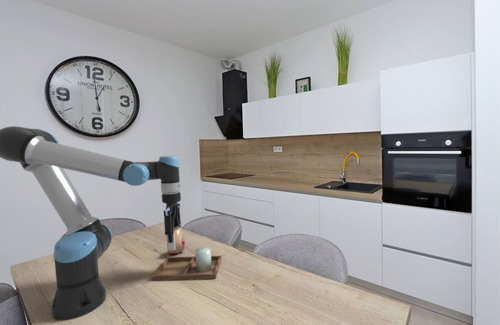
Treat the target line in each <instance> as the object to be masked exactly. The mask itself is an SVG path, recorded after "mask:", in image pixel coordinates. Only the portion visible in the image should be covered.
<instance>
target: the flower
mask: <svg viewBox="0 0 500 325" xmlns="http://www.w3.org/2000/svg"><path fill="white" fill-rule="evenodd" d="M181 238H182V237H181ZM185 242H186V241H185V239H184V238H182V250H181V251H179V252H175V253H169V252H168V251H167V253H168V254H171V255H177V254H180V255H183V251H185V250H186V245H185V244H186V243H185ZM168 254H167V255H168Z"/></svg>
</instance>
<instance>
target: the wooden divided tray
mask: <svg viewBox="0 0 500 325" xmlns="http://www.w3.org/2000/svg"><path fill="white" fill-rule="evenodd" d="M221 262H222V255H211V266H212V268H211V270H210V271H208V272H198V271H197V270H196V255H195V256H194V255H193V256H169V257H166V258H165V259H164V260H163V262H162V263H161V264H160V265H159V266H158V268H157V269H156V271H155V272H154V273H153V274H152V276H151V281H152V282H153V281H188V280H192V281H193V280H195V281H196V280H216V279H217V277H218V273H219V269H220V266H221Z"/></svg>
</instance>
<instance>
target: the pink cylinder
mask: <svg viewBox="0 0 500 325" xmlns="http://www.w3.org/2000/svg"><path fill="white" fill-rule="evenodd" d="M174 234H175V250H168V237H167V235H165V236H166V237H165V238H166V249H167V250H166V251H167V253H168V252H169V253H175V252H179V251H181V250H182V241H183V240H182V226H181V227H174ZM182 251H183V250H182ZM179 253H180V252H179Z"/></svg>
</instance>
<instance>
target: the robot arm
mask: <svg viewBox="0 0 500 325" xmlns="http://www.w3.org/2000/svg"><path fill="white" fill-rule="evenodd" d="M0 158H1V159H3V160H6V161H9V162H15V163H19V164H20V165H21V167H22V169H23V170H24V171H26V172H30V173H32V175H33V176H34V177H35V179H36V181H37V183H38V184H39V186H40V187H41V189H42V191H43V192H44V194H45V195H46V197H47V198H48V200H49V202H50V203H51V205H52V206H53V209H54V210H55V211H56V213H57V215H58V216H59V218H60V219H61V221H62V222H63V225H65V227H66V229H67V230H66V232H65V236H63V237H61V238H60V239H59V240H57V242H56V243H55V245H54V247H53V248H54V249H53V250H54V251H53V258H54V267H55V268H54V269H55V278H56V279H55V280H56V291H55V295H54V298H53V302H52V305H51V315H52V317H53V318H54V319H57V320H69V319H75V318H78V317H81V316H83V315H86V314H88V313H90V312H92V311H95V309H97V308H99V307H100V306H101V305H102V304H103V303H104V302H105V301H106V299H107V292H106V291H107V290H106V288H105V286H104V284H103V283H102V280H101V278H100V275H99V272H100V271H99V259H100V258H101V257H102V256H103V255H104V253H106V251H107V250H108V249H109V247H110V245H111V243H112V241H113V240H112V239H113V233H112V230H111V229H110V227H109V226H107V225H106V224H103V223H102V222H101V221H100V219H99V217H96V216H92V214H91V213H90V211H89V208H87V206H86V204H85V202H84V201H83V199H82V198H81V196H80V195H79V193H78V191H77V189H76V188H75V186H74V184H73V183H72V181H71V179H70V178H69V176H68V174H67V172H66V171H65V170H69V171H73V172H78V173H84V174H86V175H87V174H88V175H92V176H95V177H102V178H107V179H110V180H115V181H120V182H123V183H126V184H127V185H129V186H131V187H132V186H133V187H137V186H138V187H139V186H142V185H144V184H145V183H146V182H147V181H155V180H160V190H161V191H160V192H161V202H162V203H163V204H166V205H165V206H166V207H165V210H163V218H164V219H163V220H164V236H166V235H167V237H168V250H175V234H174V227H181V228H182V222H181V221H182V220H181V212H180V210H181V209H180V208H181V204H180V203H179V202H180V201H181V200H182V198H181V197H182V196H181V194H182V193H181V192H180V191H181V187H182V184H181V183H180V182H181V181H180V179H181V178H180V166H179V165H180V164H179V158H178V156H176V155H165V156H164V155H163V156H161V155H160V156H159V159H158V160H157V161H141V162H140V161H135V162H134V161H131V160H126V159H123V158H120V157H119V158H118V157H114V156H110V155H107V154H103V153H102V154H101V153H98V152H94V151H89V150H86V149H82V148H77V147H74V146H69V145H66V144H60V143H59V141H58V138H56V136H54V135H53V134H52V133H50V132H49V131H45V130H42V129H40V128H39V129H38V128H29V127H22V126H18V125H17V126H16V125H15V126H6V127H3V128H1V129H0ZM167 237H166V238H167Z"/></svg>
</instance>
